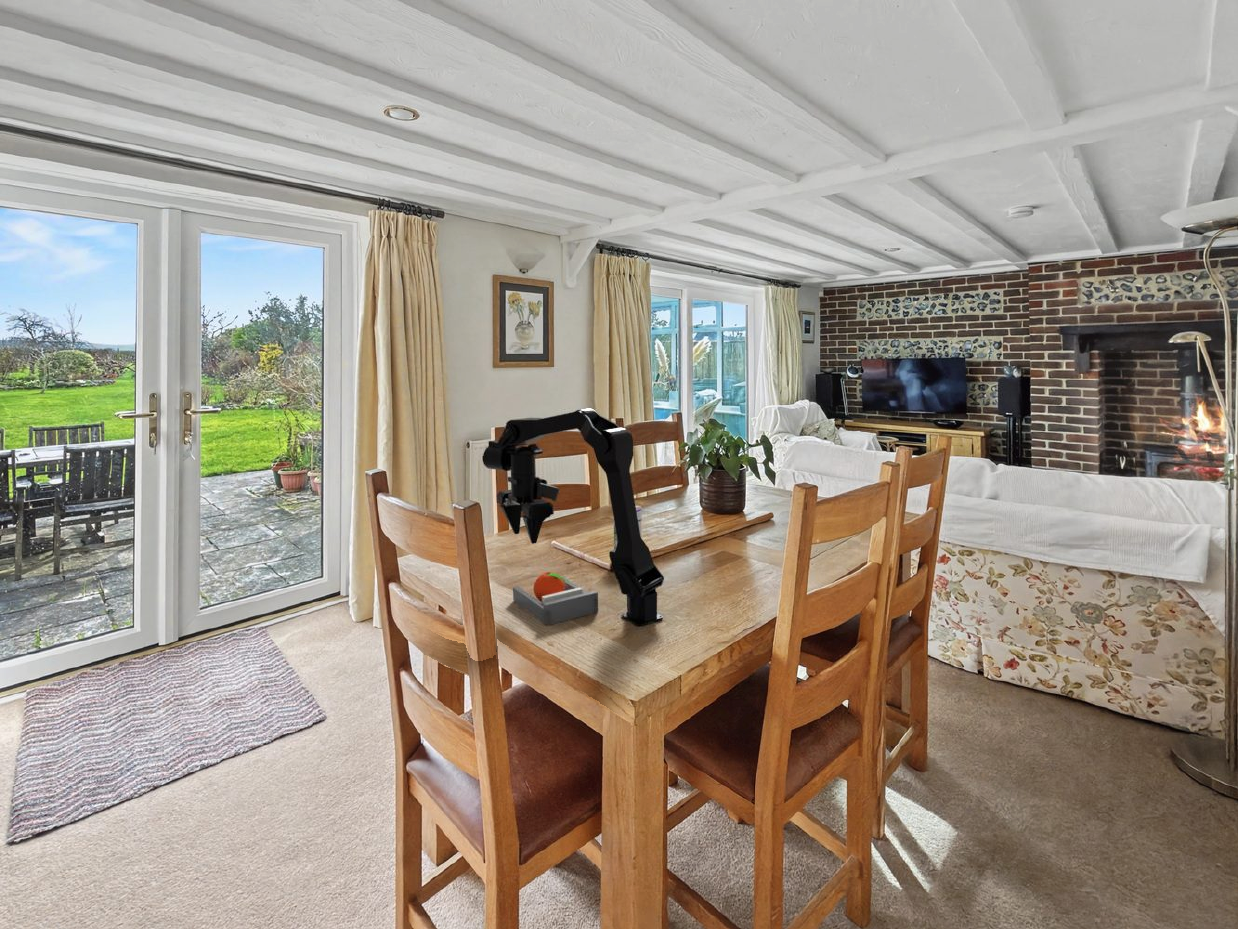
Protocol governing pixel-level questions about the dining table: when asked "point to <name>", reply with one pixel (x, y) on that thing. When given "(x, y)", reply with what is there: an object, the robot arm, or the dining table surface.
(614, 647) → the dining table surface
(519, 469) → the robot arm
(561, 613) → the grey shallow tray
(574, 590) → the pusher paddle
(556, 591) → the clementine
